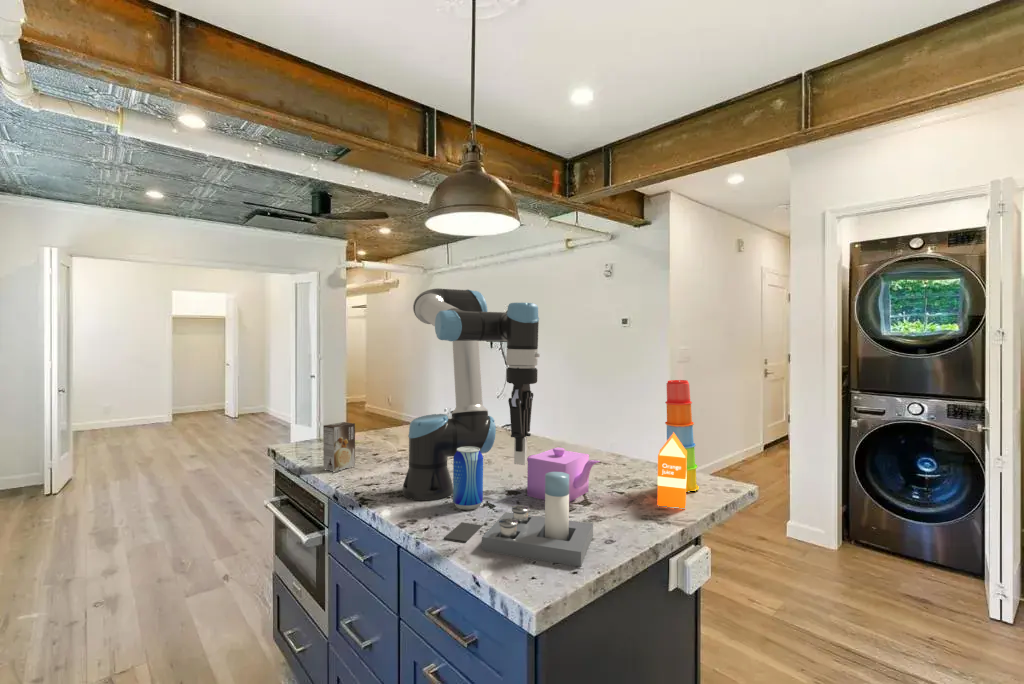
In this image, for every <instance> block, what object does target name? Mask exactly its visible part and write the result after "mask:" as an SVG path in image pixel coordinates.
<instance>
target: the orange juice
mask: <svg viewBox="0 0 1024 684" xmlns="http://www.w3.org/2000/svg"><path fill="white" fill-rule="evenodd" d="M686 461H687V451H686V450H685V448H684V447H683V445H682V444H681V442H680V441H679V439H678V438H677V436H676V435H675V434H674V432H673V434H672V435H671V437H670V438H669V439H668V440H667V439H666V442H665V443H664V444H663V446H662V447H661V448H659V452H658V455H657V500H656V501H657V502H656V505H659V506H667V507H679V508H685V506H686V507H687V505H686V504H687V493H686V474H687V472H686ZM659 506H658V507H659ZM667 507H666V508H667ZM685 509H686V508H685Z"/></svg>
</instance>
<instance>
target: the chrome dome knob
mask: <svg viewBox="0 0 1024 684" xmlns="http://www.w3.org/2000/svg"><path fill="white" fill-rule="evenodd" d="M499 525H500V537H503V538H510V539H515V538H516V530H517V525H518V521H517V520H515V519H511V518H505V519H501V520H500V521H499Z"/></svg>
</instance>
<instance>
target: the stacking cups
mask: <svg viewBox="0 0 1024 684" xmlns="http://www.w3.org/2000/svg"><path fill="white" fill-rule="evenodd" d="M665 404H666V421H665V422H664V424H665V425H666V441H667V440H668V439H669V438H670V437H671V435H672V434H673V432H674V434H675V435H676V436H677V438H678V439H679V441H680V442H681V444H682V445H683V447H684V448H685V450H686V451H687V461H686V472H687V474H686V492H688V491H695V492H697V491H699V489H700V488H699V487H700V486H699V485H698V484H697V469H698V464H696V454H695V453H696V452H695V447H696V443H695V442H694V428H693V425H695V422H693V419H692V418H693V417H692V416H693V415H692V404H693V402H692V401H691V390H690V382H689V381H688V380H687V379H686V380H685V379H673V380H672V379H671V380H667V383H666V401H665ZM695 489H696V490H697V491H696V490H695ZM688 493H689V492H688Z"/></svg>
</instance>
